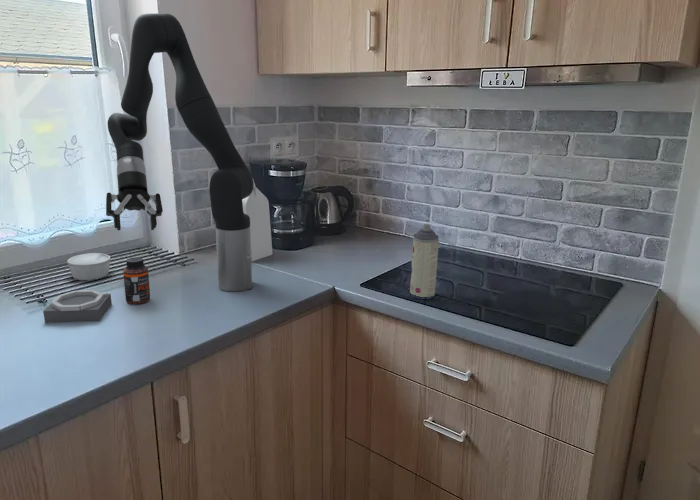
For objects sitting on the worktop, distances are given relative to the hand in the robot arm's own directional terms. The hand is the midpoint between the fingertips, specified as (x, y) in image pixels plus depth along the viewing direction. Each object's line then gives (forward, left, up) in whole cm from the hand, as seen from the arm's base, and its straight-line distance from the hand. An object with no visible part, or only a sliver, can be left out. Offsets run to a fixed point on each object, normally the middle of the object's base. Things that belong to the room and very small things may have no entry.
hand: (136, 229), depth 143 cm
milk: (-28, -26, -16) cm, 41 cm away
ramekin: (+16, -9, -16) cm, 25 cm away
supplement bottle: (-2, +12, -16) cm, 20 cm away
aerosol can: (-77, +14, -16) cm, 80 cm away
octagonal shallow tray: (+10, +19, -16) cm, 27 cm away
